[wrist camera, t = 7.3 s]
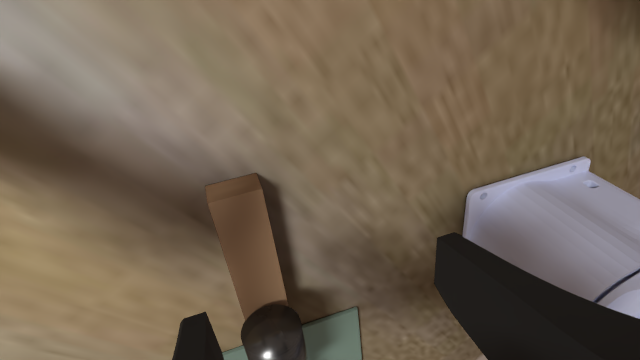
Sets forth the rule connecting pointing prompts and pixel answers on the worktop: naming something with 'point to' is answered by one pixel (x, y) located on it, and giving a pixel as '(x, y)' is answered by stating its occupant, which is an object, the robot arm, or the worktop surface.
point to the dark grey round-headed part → (274, 334)
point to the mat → (324, 338)
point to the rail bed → (247, 241)
